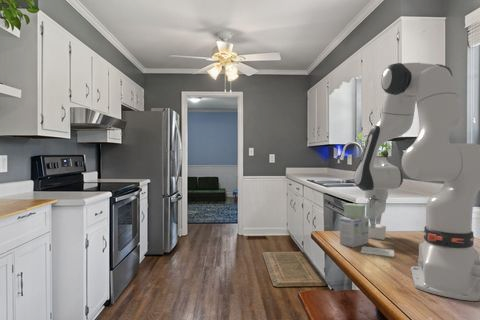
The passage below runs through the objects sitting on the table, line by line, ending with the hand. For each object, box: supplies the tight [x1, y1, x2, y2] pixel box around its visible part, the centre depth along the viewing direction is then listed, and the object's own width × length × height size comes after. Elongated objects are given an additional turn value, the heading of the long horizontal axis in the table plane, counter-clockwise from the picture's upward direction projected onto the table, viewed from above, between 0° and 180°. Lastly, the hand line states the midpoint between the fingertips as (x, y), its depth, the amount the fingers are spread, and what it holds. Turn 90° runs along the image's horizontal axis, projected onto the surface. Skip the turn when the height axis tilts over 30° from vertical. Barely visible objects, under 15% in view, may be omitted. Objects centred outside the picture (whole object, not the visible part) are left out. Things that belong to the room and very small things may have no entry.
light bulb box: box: [339, 215, 370, 249], centre depth 126 cm, size 11×7×11 cm, turn 127°
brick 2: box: [369, 223, 387, 240], centre depth 136 cm, size 4×7×5 cm, turn 55°
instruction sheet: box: [360, 245, 395, 258], centre depth 116 cm, size 8×11×1 cm
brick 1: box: [343, 202, 366, 219], centre depth 126 cm, size 4×7×5 cm, turn 52°
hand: (375, 226), depth 136 cm, fingers open, 8 cm apart
